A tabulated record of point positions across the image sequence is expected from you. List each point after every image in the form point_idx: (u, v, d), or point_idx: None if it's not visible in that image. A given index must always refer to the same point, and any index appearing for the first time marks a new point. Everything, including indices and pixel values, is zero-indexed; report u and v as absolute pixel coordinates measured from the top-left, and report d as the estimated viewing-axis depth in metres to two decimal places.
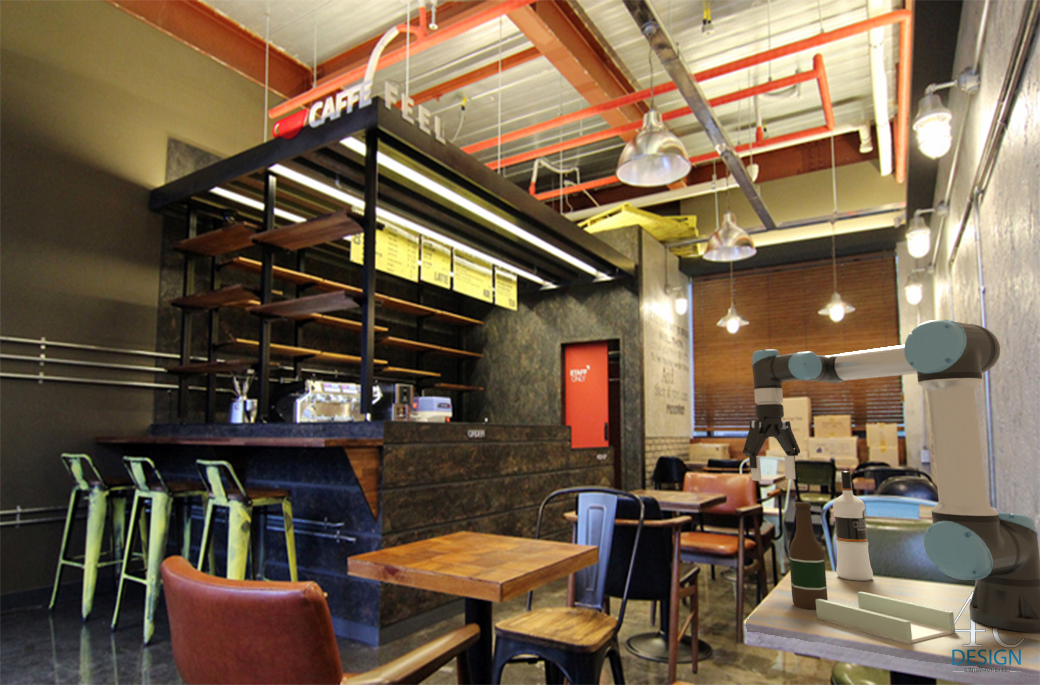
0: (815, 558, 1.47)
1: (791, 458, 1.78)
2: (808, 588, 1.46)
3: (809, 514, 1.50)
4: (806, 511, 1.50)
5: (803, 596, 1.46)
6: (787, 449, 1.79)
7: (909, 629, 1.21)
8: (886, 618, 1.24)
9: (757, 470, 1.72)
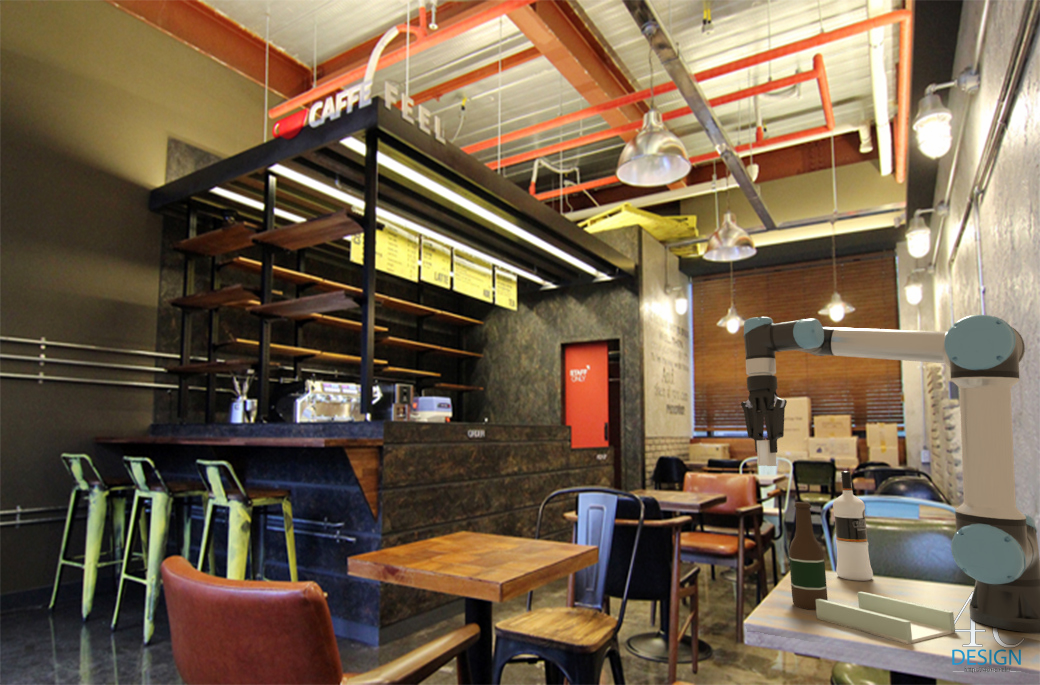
0: (815, 558, 1.47)
1: None
2: (808, 588, 1.46)
3: (809, 514, 1.51)
4: (806, 511, 1.50)
5: (803, 596, 1.46)
6: None
7: (909, 629, 1.21)
8: (886, 618, 1.24)
9: None
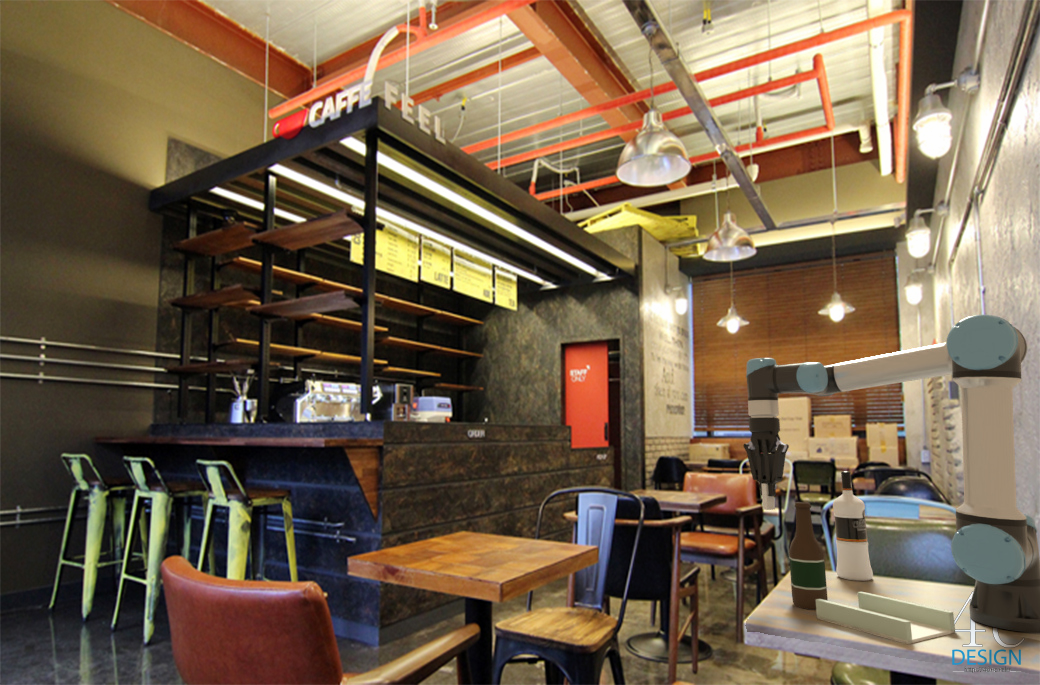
0: (815, 558, 1.47)
1: None
2: (808, 588, 1.46)
3: (809, 514, 1.51)
4: (806, 511, 1.50)
5: (803, 596, 1.46)
6: None
7: (909, 629, 1.21)
8: (886, 618, 1.24)
9: None
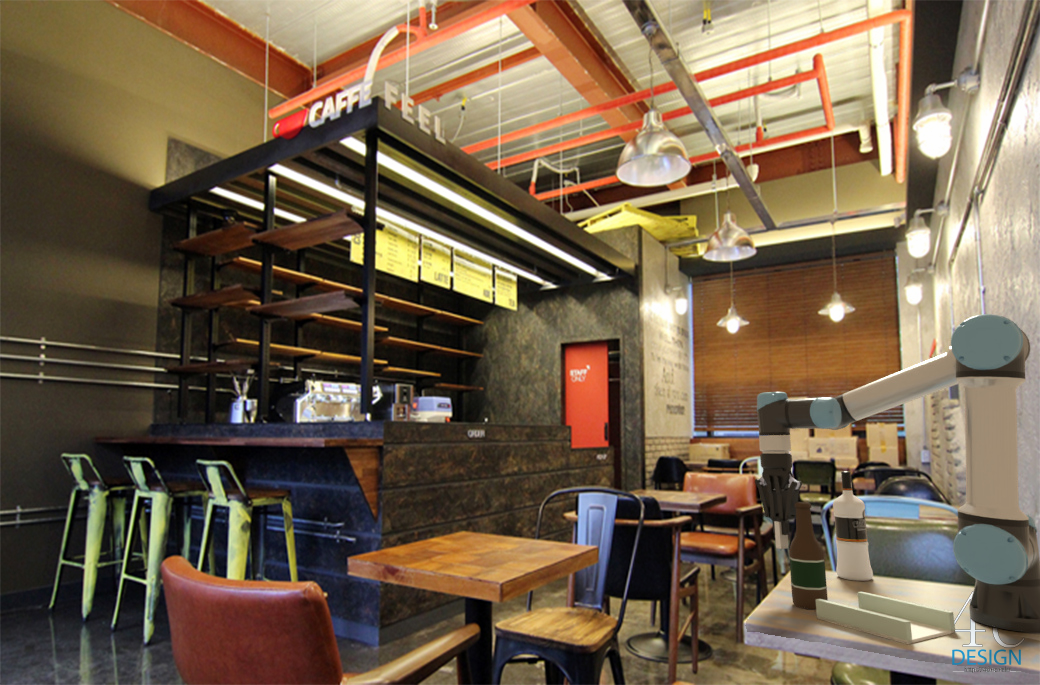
0: (815, 558, 1.47)
1: None
2: (808, 588, 1.46)
3: (809, 514, 1.51)
4: (806, 511, 1.50)
5: (803, 596, 1.46)
6: None
7: (909, 629, 1.21)
8: (886, 618, 1.24)
9: None
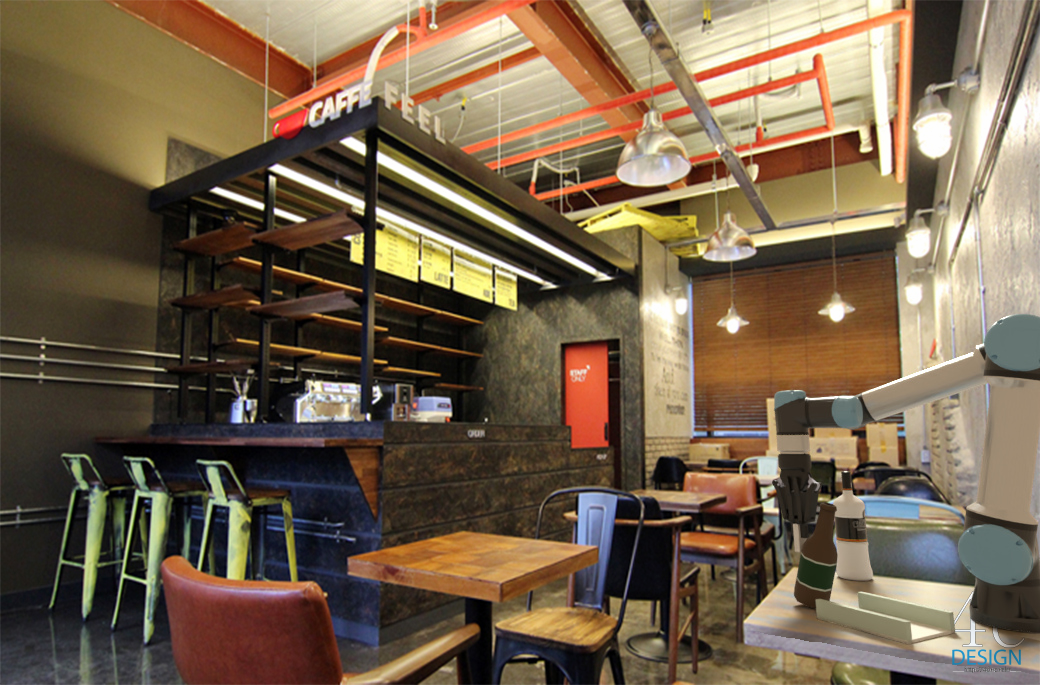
0: (828, 561, 1.44)
1: None
2: (813, 588, 1.45)
3: (833, 517, 1.46)
4: (830, 514, 1.45)
5: (806, 594, 1.46)
6: None
7: (909, 629, 1.21)
8: (886, 618, 1.24)
9: None
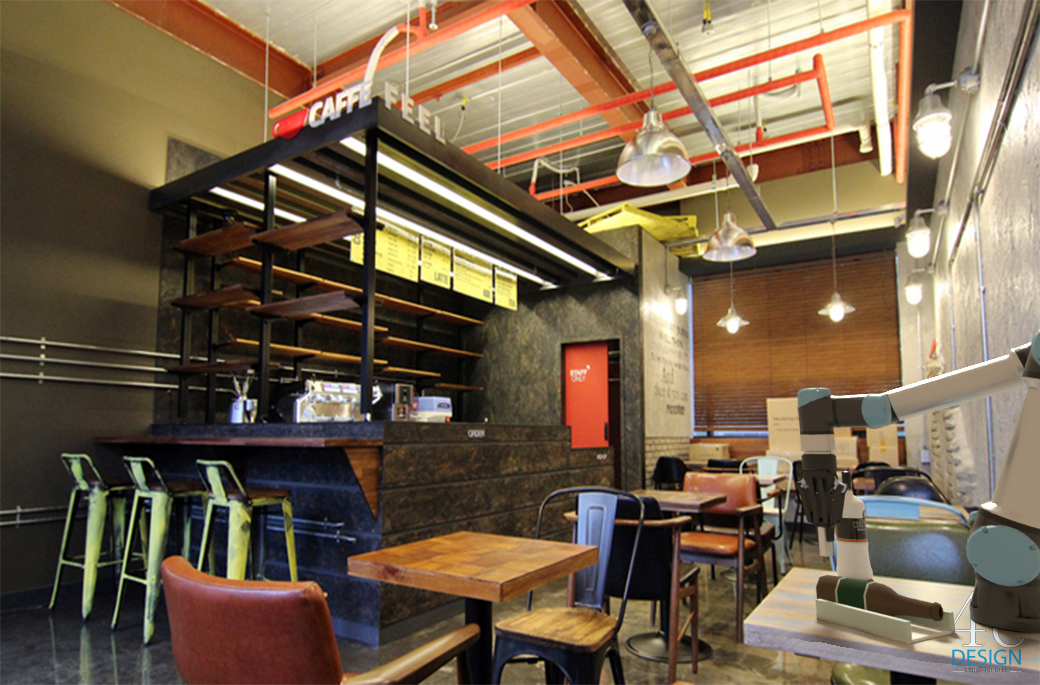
0: None
1: None
2: None
3: None
4: (929, 618, 1.28)
5: (828, 598, 1.41)
6: None
7: (909, 629, 1.21)
8: (886, 618, 1.24)
9: None
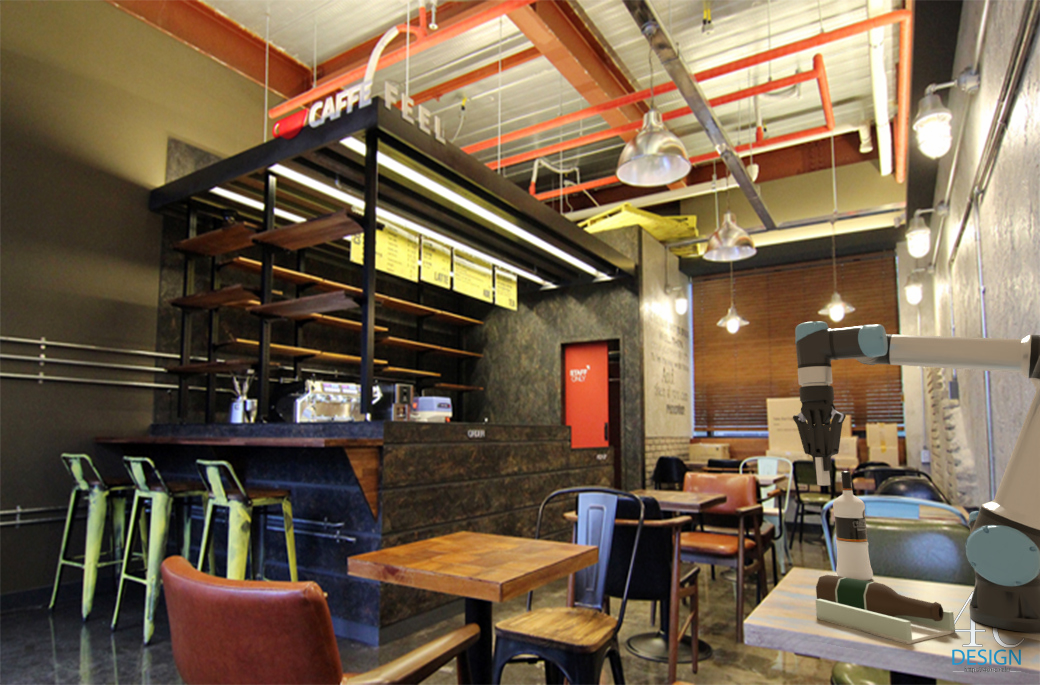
0: None
1: None
2: None
3: None
4: (929, 618, 1.28)
5: (828, 598, 1.41)
6: None
7: (909, 629, 1.21)
8: (886, 618, 1.24)
9: None
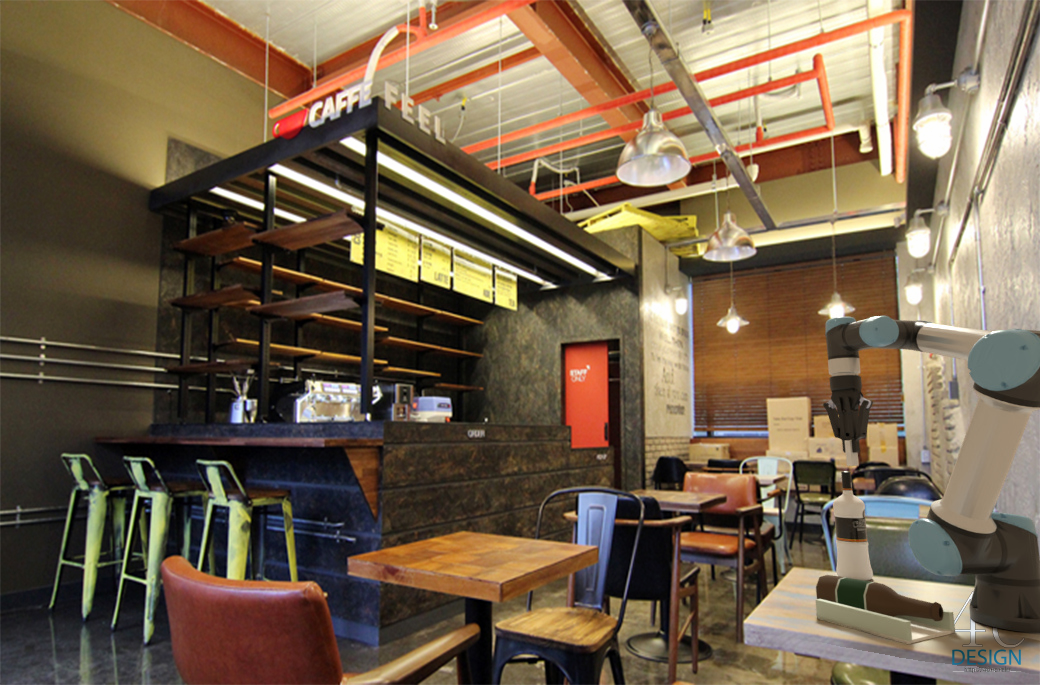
0: None
1: None
2: None
3: None
4: (929, 618, 1.28)
5: (828, 598, 1.41)
6: None
7: (909, 629, 1.21)
8: (886, 618, 1.24)
9: None
